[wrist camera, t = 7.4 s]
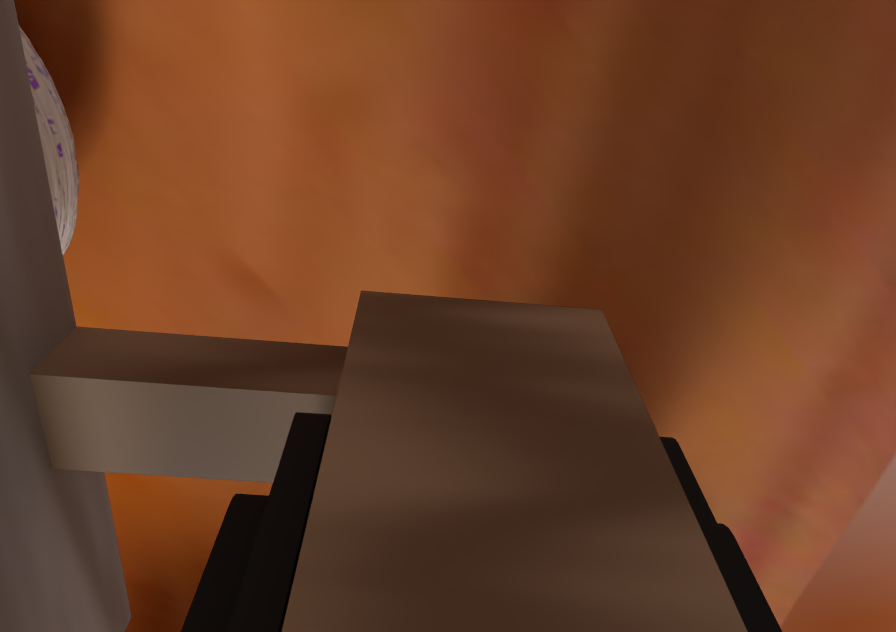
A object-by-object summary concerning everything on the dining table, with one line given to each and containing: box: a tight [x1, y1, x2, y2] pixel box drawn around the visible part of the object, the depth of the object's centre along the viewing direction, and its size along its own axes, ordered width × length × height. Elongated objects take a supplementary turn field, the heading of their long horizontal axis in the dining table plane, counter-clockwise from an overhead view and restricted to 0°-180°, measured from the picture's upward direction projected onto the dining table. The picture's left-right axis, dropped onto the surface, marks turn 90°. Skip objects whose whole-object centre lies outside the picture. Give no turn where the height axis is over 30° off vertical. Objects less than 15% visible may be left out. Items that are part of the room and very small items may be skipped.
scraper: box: [0, 0, 747, 632], centre depth 9 cm, size 11×14×10 cm
